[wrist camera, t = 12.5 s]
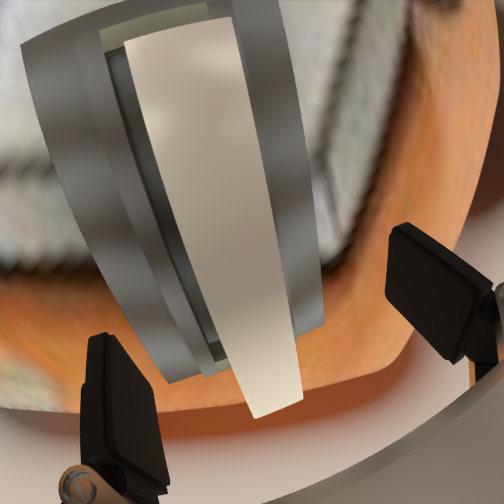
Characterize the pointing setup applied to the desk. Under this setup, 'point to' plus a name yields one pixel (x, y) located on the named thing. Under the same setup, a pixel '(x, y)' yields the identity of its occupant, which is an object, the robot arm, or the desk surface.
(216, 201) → the clay strip
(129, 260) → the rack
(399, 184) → the desk surface
